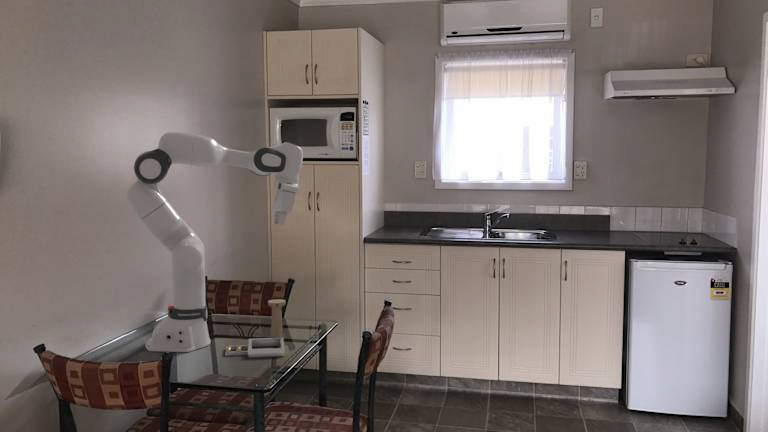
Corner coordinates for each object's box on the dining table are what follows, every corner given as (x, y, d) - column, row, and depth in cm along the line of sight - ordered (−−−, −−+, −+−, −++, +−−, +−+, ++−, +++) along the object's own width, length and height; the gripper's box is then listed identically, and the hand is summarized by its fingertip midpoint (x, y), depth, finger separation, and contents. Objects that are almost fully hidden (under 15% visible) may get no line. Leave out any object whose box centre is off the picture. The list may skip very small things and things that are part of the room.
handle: (286, 341, 243) (286, 302, 241) (268, 342, 242) (268, 303, 240) (284, 337, 248) (285, 299, 246) (267, 338, 246) (267, 299, 244)
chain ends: (224, 358, 225) (224, 351, 224) (226, 346, 237) (226, 339, 236) (284, 356, 228) (284, 348, 228) (283, 344, 240) (283, 337, 240)
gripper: (272, 186, 249) (265, 222, 249) (282, 184, 230) (275, 223, 229) (288, 189, 252) (281, 225, 251) (299, 188, 232) (292, 226, 232)
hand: (278, 224), depth 240 cm, fingers open, 8 cm apart
